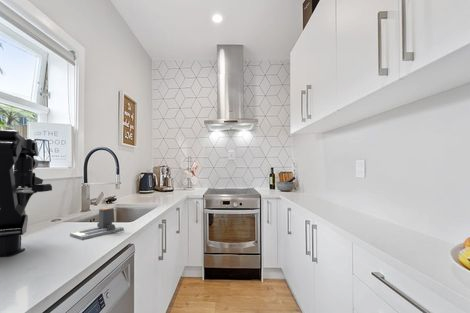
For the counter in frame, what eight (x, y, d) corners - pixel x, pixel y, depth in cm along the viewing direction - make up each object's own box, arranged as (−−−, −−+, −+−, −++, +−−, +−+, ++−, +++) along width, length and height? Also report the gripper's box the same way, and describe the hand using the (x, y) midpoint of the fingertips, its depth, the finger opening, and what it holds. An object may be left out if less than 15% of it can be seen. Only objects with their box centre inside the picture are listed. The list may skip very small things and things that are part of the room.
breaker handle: (103, 229, 110) (103, 209, 110) (98, 228, 112) (99, 208, 112) (111, 227, 113) (112, 208, 113) (107, 226, 115) (107, 207, 115)
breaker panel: (81, 239, 99) (81, 231, 99) (70, 235, 105) (70, 228, 105) (123, 229, 114) (123, 222, 114) (111, 226, 120) (111, 220, 120)
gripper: (60, 169, 108) (60, 206, 107) (14, 170, 106) (13, 207, 106) (42, 170, 97) (42, 211, 96) (-9, 170, 95) (-10, 212, 95)
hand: (22, 210), depth 99 cm, fingers closed
